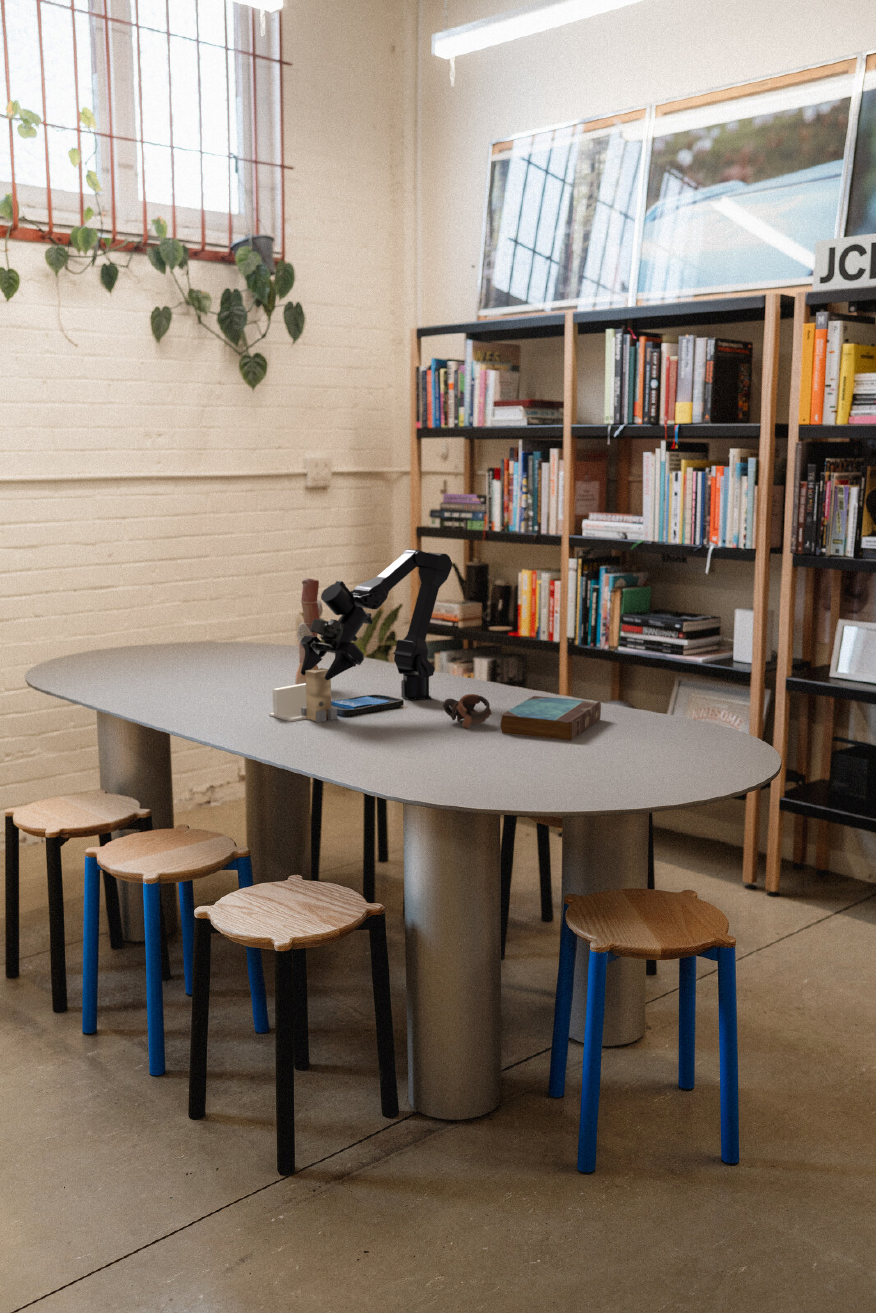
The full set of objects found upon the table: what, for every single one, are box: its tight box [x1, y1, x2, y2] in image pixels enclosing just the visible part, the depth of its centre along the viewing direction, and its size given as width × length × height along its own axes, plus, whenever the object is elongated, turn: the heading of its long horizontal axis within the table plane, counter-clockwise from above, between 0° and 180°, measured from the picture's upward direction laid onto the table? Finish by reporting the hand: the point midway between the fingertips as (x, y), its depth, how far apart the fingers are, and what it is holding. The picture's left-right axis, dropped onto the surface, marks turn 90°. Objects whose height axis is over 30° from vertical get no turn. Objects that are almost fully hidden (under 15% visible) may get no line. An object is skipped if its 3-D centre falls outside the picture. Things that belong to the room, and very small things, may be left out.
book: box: [499, 695, 602, 742], centre depth 280 cm, size 23×18×5 cm
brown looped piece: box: [442, 693, 492, 730], centre depth 283 cm, size 12×10×8 cm
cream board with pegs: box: [268, 683, 338, 723], centre depth 292 cm, size 14×14×7 cm
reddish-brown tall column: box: [294, 577, 324, 685], centre depth 328 cm, size 10×7×30 cm
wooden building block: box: [306, 667, 332, 722], centre depth 289 cm, size 5×4×12 cm
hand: (313, 676), depth 287 cm, fingers open, 9 cm apart
